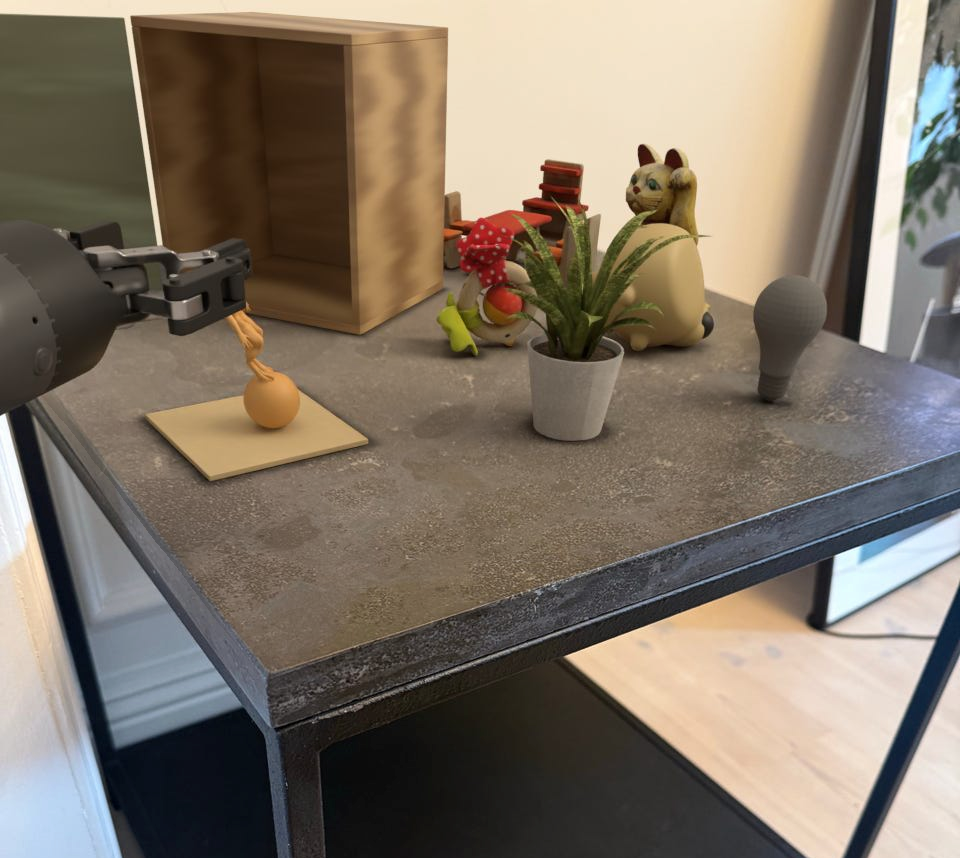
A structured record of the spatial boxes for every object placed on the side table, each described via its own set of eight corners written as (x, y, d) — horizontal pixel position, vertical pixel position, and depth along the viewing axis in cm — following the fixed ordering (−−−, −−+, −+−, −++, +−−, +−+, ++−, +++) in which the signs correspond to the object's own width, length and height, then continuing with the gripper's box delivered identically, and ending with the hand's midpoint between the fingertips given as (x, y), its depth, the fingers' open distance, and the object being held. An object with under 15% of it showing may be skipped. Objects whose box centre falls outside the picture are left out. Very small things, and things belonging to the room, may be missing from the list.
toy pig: (671, 396, 88) (756, 313, 87) (611, 308, 80) (705, 214, 79) (616, 358, 95) (694, 280, 94) (556, 273, 87) (641, 186, 86)
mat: (145, 419, 70) (144, 413, 70) (293, 390, 76) (292, 385, 76) (209, 481, 62) (209, 476, 62) (368, 444, 68) (368, 438, 68)
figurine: (304, 448, 66) (292, 270, 59) (216, 452, 65) (193, 271, 58) (298, 403, 73) (287, 238, 66) (218, 406, 71) (197, 238, 64)
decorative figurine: (595, 295, 102) (612, 139, 93) (648, 285, 106) (670, 135, 97) (660, 319, 96) (685, 155, 87) (714, 308, 100) (743, 150, 91)
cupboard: (360, 335, 88) (351, 34, 74) (169, 298, 94) (129, 15, 80) (442, 288, 101) (448, 27, 88) (271, 259, 108) (252, 11, 94)
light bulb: (815, 412, 77) (849, 285, 71) (753, 414, 76) (782, 286, 70) (784, 387, 82) (813, 266, 76) (724, 389, 80) (749, 267, 75)
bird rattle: (494, 355, 91) (411, 322, 87) (547, 243, 86) (461, 201, 82) (516, 379, 86) (429, 345, 82) (573, 261, 81) (484, 218, 77)
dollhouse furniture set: (410, 265, 108) (410, 171, 103) (489, 235, 122) (493, 151, 116) (559, 295, 101) (568, 195, 96) (626, 260, 115) (638, 171, 109)
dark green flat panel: (-75, 294, 91) (-159, 4, 78) (157, 281, 98) (117, 13, 85) (-80, 315, 86) (-171, 8, 73) (165, 300, 93) (124, 18, 80)
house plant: (678, 403, 77) (716, 186, 68) (676, 475, 66) (721, 226, 57) (506, 384, 79) (520, 169, 70) (476, 451, 68) (487, 206, 58)
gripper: (98, 260, 40) (283, 192, 52) (-171, 219, 43) (64, 165, 55) (129, 428, 44) (292, 328, 57) (-118, 380, 47) (89, 296, 60)
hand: (179, 247), depth 56 cm, fingers open, 8 cm apart
